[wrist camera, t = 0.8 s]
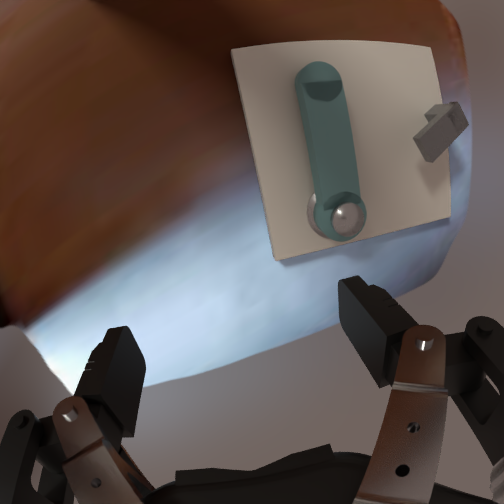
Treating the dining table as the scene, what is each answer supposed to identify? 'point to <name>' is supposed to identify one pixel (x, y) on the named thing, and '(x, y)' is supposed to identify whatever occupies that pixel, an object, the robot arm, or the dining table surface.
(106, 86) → the dining table surface
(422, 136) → the grey angled pieces
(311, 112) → the teal link bar
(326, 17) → the dining table surface
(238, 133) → the dining table surface
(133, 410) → the robot arm
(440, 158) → the base board
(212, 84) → the dining table surface
